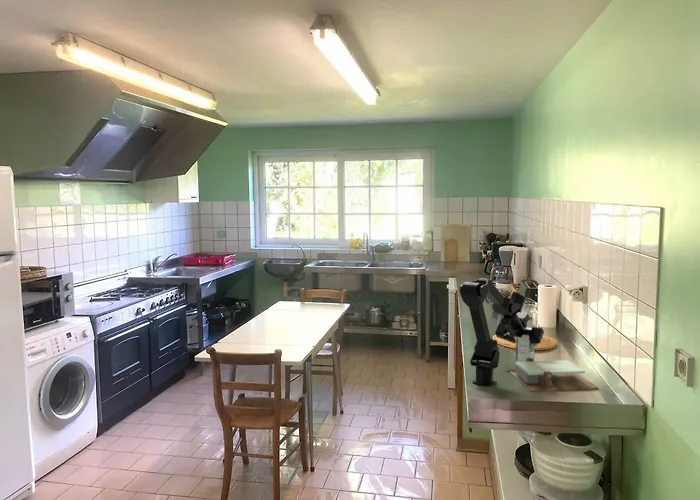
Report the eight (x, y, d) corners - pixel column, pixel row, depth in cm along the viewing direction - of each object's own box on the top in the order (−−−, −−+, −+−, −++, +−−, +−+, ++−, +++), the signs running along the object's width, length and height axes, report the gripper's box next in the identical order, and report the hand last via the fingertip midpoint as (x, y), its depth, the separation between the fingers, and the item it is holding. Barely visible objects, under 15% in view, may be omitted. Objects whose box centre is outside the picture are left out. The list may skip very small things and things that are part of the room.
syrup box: (520, 360, 226) (520, 326, 225) (534, 363, 222) (534, 328, 221) (515, 363, 221) (515, 329, 220) (529, 366, 218) (529, 330, 217)
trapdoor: (527, 384, 191) (527, 372, 191) (514, 372, 205) (514, 361, 205) (584, 382, 192) (584, 370, 191) (567, 370, 206) (567, 359, 205)
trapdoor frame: (530, 391, 187) (530, 374, 187) (509, 373, 209) (509, 357, 209) (598, 389, 188) (598, 372, 187) (571, 370, 210) (571, 355, 209)
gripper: (542, 308, 210) (553, 330, 219) (498, 303, 223) (510, 325, 232) (533, 331, 205) (545, 354, 214) (488, 325, 218) (502, 347, 227)
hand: (525, 344), depth 222 cm, fingers open, 9 cm apart
